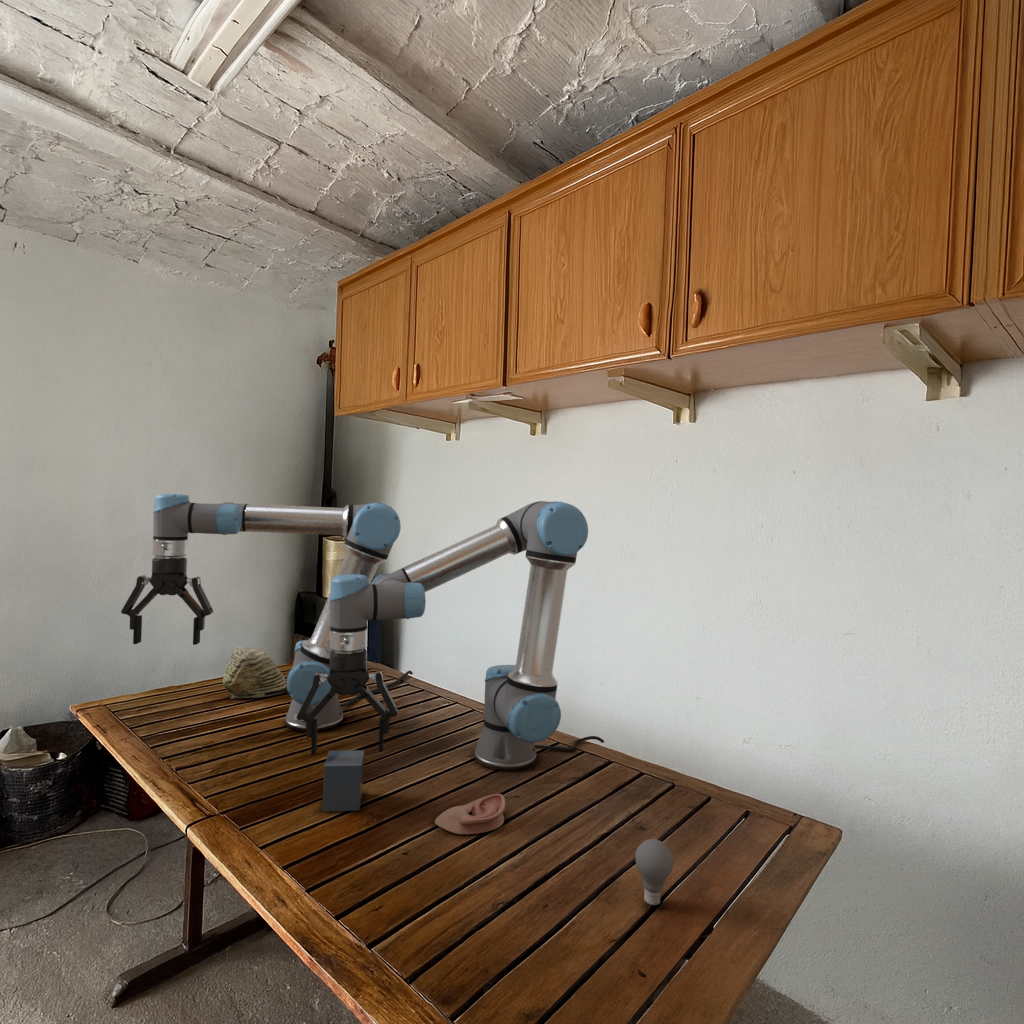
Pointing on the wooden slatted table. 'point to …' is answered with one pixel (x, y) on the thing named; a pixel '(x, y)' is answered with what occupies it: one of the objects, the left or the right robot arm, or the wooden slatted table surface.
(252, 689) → the fossil
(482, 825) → the anatomical model
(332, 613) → the right robot arm
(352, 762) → the brick
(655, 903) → the light bulb
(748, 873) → the wooden slatted table surface
